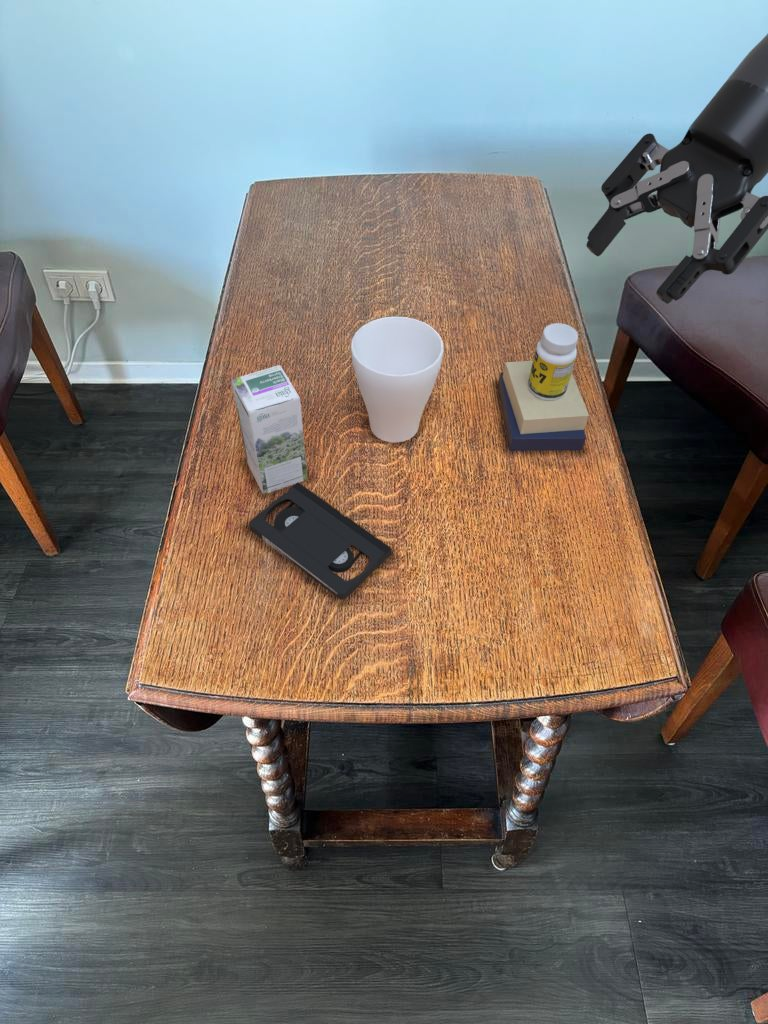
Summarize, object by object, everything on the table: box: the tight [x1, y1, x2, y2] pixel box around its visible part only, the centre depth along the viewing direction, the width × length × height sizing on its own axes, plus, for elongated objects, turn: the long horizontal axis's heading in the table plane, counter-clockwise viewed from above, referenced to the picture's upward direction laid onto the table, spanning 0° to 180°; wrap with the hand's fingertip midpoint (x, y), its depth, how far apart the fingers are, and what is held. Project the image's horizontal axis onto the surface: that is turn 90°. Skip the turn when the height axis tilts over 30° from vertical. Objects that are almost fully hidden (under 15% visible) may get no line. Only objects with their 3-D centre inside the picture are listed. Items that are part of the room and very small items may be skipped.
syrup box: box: [230, 364, 308, 495], centre depth 81 cm, size 6×6×14 cm
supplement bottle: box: [528, 322, 579, 400], centre depth 86 cm, size 5×5×8 cm
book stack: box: [497, 360, 590, 452], centre depth 91 cm, size 12×9×6 cm
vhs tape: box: [249, 482, 392, 601], centre depth 80 cm, size 14×8×2 cm, turn 49°
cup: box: [350, 315, 445, 444], centre depth 87 cm, size 10×10×14 cm
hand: (625, 274), depth 64 cm, fingers open, 8 cm apart
